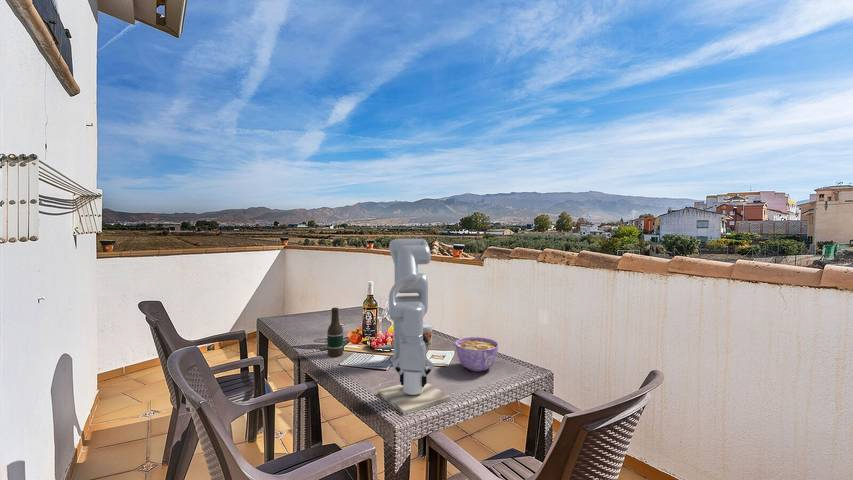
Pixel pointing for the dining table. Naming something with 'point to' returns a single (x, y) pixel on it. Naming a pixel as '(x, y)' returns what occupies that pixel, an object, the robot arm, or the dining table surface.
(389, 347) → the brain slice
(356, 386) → the dining table surface
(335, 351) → the beer bottle
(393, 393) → the beige flat square plate
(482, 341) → the bowl of food
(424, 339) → the coffee cup
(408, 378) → the elbow
